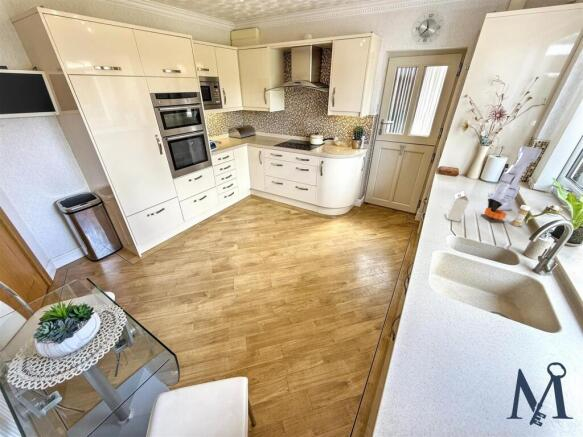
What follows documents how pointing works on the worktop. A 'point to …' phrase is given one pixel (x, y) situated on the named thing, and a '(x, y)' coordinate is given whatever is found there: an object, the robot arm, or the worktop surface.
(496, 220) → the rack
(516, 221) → the sprinkles bottle
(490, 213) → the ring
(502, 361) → the worktop surface
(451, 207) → the milk carton
